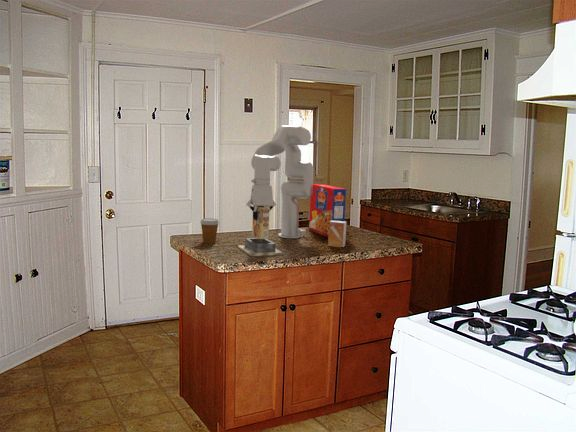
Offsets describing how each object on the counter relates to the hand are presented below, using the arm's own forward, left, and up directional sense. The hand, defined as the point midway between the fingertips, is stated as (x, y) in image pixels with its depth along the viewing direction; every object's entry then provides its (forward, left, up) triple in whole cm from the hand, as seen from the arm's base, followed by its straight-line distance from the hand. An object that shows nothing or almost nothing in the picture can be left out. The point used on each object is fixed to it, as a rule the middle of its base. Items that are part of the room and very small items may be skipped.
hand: (260, 219), depth 267 cm
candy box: (0, 0, -9) cm, 9 cm away
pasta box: (-54, -38, -16) cm, 68 cm away
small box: (-44, -4, -16) cm, 47 cm away
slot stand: (0, 0, -16) cm, 16 cm away
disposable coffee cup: (+19, -25, -16) cm, 35 cm away
